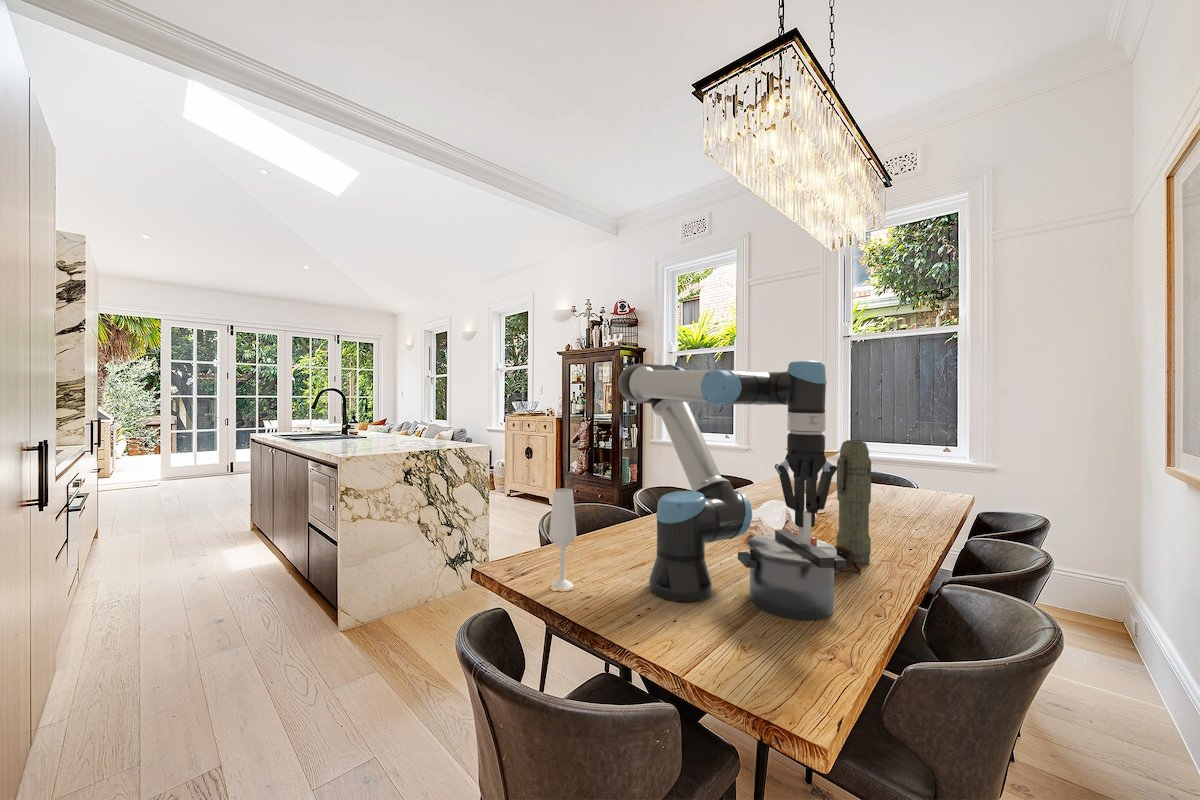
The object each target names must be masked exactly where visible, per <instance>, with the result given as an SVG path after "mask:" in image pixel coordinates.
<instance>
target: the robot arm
mask: <svg viewBox="0 0 1200 800" xmlns="http://www.w3.org/2000/svg"><path fill="white" fill-rule="evenodd" d="M787 367H788V368H787V370H786V371H777V372H776V371H775V372H774V371H773V372H771V371H770V372H768V371H765V372H764V371H747V370H745V371H744V370H743V371H742V370H734V369H733V370H731V369H721V368H719V369H718V368H717V369H714V370H713V369H707V370H706V369H684V368H683V367H682V366H681V367H680V366H677V365H673V364H664V365H663V364H662V365H661V364H651V363H649V364H648V363H635V364H630V365H628V366H627V367H625V368H624V369H622V372H621V373H620V375H619V377H618V382H617V383H618V384H617V385H618V390H619V392H620V394H621V396H623V398H625V399H626V400H627V401H629V402H632V403H635V404H636V403H637V404H650V406H651V409H652V410H653V412H654V414H655V415H656V416H659V417H661V419H662V421H663V423H664V426H665V428H666V431H667V433H668V435H669V437H670V440H671V443H672V445H673V447H674V449H675V452H676V454H677V458H678V459H679V461H680V465H681V466H682V469H683V471H684V473H685V476H686V478H687V480H688V483H689V485H690V489H691V490H677V491H672V492H668V493H665V494H663V495H662V496H661V497H660V498H659V499H658V502H657V511H656V515H655V516H656V557H655V560H654V564H653V567H652V570H651V573H650V576H649V581H648V583H649V585H648V586H649V587H648V588H649V591H650V590H651V591H652V592H653V593H654V594H653V593H652V592H651V591H650V592H651V593H652V594H653V595H655V594H656V595H655V596H657V595H658V596H657V597H659V596H660V597H659V598H661V597H662V598H661V599H664V598H665V600H668V599H669V600H668V601H672V600H675V601H674V602H681V601H684V602H683V603H687V602H689V603H690V601H691V603H692V602H698V601H702V600H705V599H707V598H709V597H710V596H711V595H712V593H713V590H712V589H713V588H712V586H713V584H712V583H713V582H712V579H711V576H710V573H709V570H708V566H707V563H706V559H705V556H706V555H705V553H706V552H705V550H706V548H705V547H706V544H708V543H713V542H718V541H722V540H723V541H725V540H733V539H734V538H738V537H740V536H742V535H744V534H745V533H746V532H747V531H748V530H749V528H750V526H751V521H752V519H753V508H752V505H751V502H750V501H749V498H748V497H747V496H746V495H745V494H744V493H742V492H740V491H738V490H734V488H733V485H732V484H731V481H730V480H729V479H726V478H725V477H722V476H721V473H720V471H719V469H718V467H717V464H716V463H715V460H714V458H713V456H712V453H711V451H710V449H709V447H708V445H707V443H706V442H707V441H705V438H704V436H703V434H702V431H701V429H700V428H699V425H698V423H697V420H696V418H695V416H694V413H692V410H691V407H690V402H697V403H698V402H699V403H700V402H701V403H709V404H712V405H719V406H727V405H756V406H757V405H758V406H765V405H767V406H768V405H770V406H771V405H772V406H773V405H774V406H775V405H777V406H778V405H783V406H787V422H786V423H787V431H788V434H787V435H786V436H787V437H786V439H787V441H786V449H787V453H786V456H785V458H784V460H783V461H782V462H780V463H775V465H774V469H775V470H776V472H777V473H778V475H779V480H780V484H781V489H782V492H783V498H784V502H785V506H786V507H787V508H788V509H790V510H793V511H794V524H795V526H796V527H798V536H799V537H798V540H799V541H801V542H802V543H804V544H811V537H812V528H814V527H815V526H816V515H817V514H818V512H819V511H820V510H821V511H822V510H824V509H825V508H826V503H827V500H828V495H829V491H830V486H831V483H832V480H833V476H834V474H835V473H837V465H833V464H831V463H830V462H828V461H827V457H826V456H825V450H826V436H825V434H823V433H824V432H825V431H826V392H827V391H826V389H827V387H826V385H827V382H828V381H827V379H826V378H827V377H826V365H825V364H824V363H823V362H822V361H818V360H798V361H791V362H789V364H788V365H787ZM789 468H790V469H789ZM790 470H791V471H792V473H793V479H794V481H793V482H794V483H793V484H794V485H793V486H794V487H792V481H791V478H790V477H791V476H790V475H789V474H790V473H789V471H790ZM821 470H822V472H821V474H820V478H819V472H820V471H821ZM818 479H819V482H818ZM817 482H818V485H817ZM793 490H794V491H793ZM805 509H806V510H805ZM685 601H686V602H685Z"/></svg>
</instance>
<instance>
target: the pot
mask: <svg viewBox="0 0 1200 800" xmlns="http://www.w3.org/2000/svg"><path fill="white" fill-rule="evenodd" d="M737 560H739V561H738V562H740V563H741V564H742V565H743V566H744V567H745V568H748V569H749V600H750V602H752V603H751V604H754V605H755V606H754V605H753V606H754V607H756V608H757V609H758V610H760V609H761V611H762V610H763V612H765V613H766V612H767V613H766V614H769V615H771V614H772V615H771V616H775V617H777V618H782V619H786V620H791V621H802V622H803V621H805V622H811V621H812V622H813V621H821V620H822V621H823V620H825V619H828V618H831V616H832V615H833V614H834V609H835V602H834V601H835V572H834V568H819V567H817V566H816V565H814V564H813V563H799V562H789V561H782V560H777V559H772V558H768V557H764V556H761V555H759V554H756V553H754V552H752V551H751V550H750V549H749V552H748V551H738V552H737ZM834 563H835V567H836V568H846V560H845V559H843V558H842V557H840V556H838V555H837V557H836V558H835V559H834Z"/></svg>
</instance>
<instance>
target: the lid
mask: <svg viewBox="0 0 1200 800" xmlns="http://www.w3.org/2000/svg"><path fill="white" fill-rule="evenodd" d="M798 537H799V535H796V534H795V533H793V532H791V531H790V530H788V529H775V530H774V534H773V533H770V534H769V533H768V534H767V533H766V534H760V535H759V534H758V535H754V536H751V537H749V538H748V540H747V548H748V549H749V551H750V550H751V551H752V552H754V553H756V554H759V555H761V556H764V557H768V558H772V559H777V560H782V561H789V562H799V563H813V564H814V565H816V566H817V567H819V568H835V563H834V559H835V558H836V557H837V549H836V548H835V547H834V546H835V545H833V544H831V543H829V542H826V541H823V540H820V539H818V538H817V537H815V536H811V544H804V543H802V542H801V541H799V540H798Z"/></svg>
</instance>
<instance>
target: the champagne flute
mask: <svg viewBox="0 0 1200 800" xmlns="http://www.w3.org/2000/svg"><path fill="white" fill-rule="evenodd" d="M573 490H574V489H571V488H563V487H562V488H561V487H560V488H555V489H553V494H552V501H551V503H552V505H551V513H550V525H549V531H548V532H549V534H548V535H549V536H548V537H549V538H550V540H551V542H552V543H554V544H555V545H556V547H558V548H559V550H560V552H559V553H560V554H559V556H560V558H559V562H560V563H559V565H560V566H559V568H560V569H559V577H560V578H559V579H558V580H556V581H554V582H553V583H551V584H552V587H553V588H556V589H557V588H558V589H569V588H571V587H573V584H574V583H573V582H571V581H569V580H567V579H566V576H565V575H566V572H565V571H566V548H567V547H569V546H570V545H571V544H572V543H573V542H574V541H575V539H576V537H577V526H576V524H577V523H576V514H575V513H576V512H575V503H574V502H575V501H574V491H573ZM572 583H573V584H572Z"/></svg>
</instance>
